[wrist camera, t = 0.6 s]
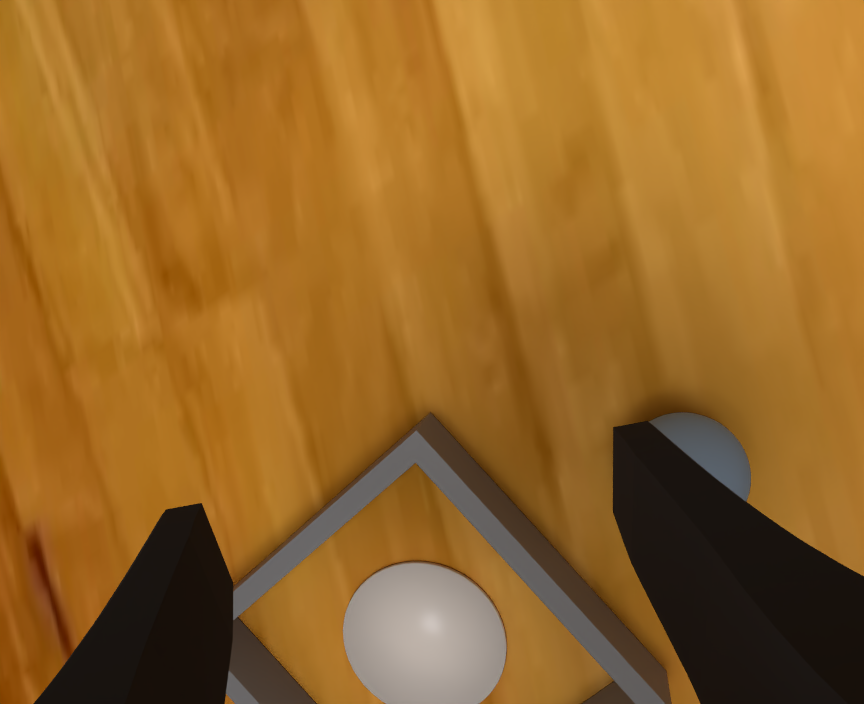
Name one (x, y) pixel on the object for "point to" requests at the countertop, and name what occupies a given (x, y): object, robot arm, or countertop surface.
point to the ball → (709, 448)
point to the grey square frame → (438, 599)
